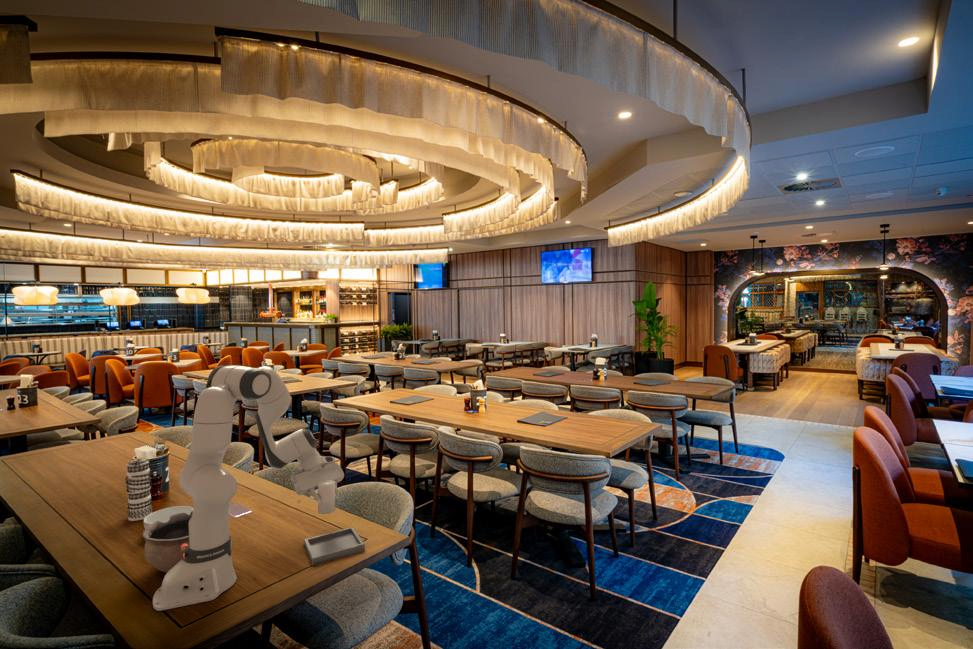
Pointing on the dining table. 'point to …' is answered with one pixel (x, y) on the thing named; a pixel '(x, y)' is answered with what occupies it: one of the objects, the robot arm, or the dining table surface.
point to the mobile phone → (238, 510)
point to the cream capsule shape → (326, 497)
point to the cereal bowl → (165, 514)
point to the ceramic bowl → (166, 541)
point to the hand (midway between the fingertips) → (327, 496)
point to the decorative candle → (138, 489)
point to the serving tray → (333, 545)
